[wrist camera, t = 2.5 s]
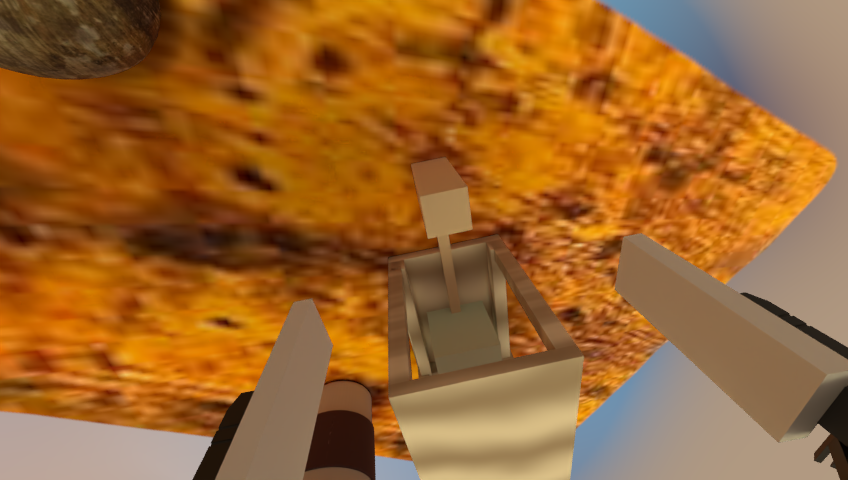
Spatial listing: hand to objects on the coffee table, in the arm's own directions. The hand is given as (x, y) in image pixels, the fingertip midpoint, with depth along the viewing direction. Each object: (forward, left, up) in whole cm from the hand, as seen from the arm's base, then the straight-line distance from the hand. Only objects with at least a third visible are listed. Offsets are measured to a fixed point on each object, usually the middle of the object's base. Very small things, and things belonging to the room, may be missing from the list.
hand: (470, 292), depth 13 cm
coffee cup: (+26, -16, -16) cm, 34 cm away
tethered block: (+9, 0, -15) cm, 18 cm away
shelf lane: (+15, 0, -15) cm, 21 cm away
